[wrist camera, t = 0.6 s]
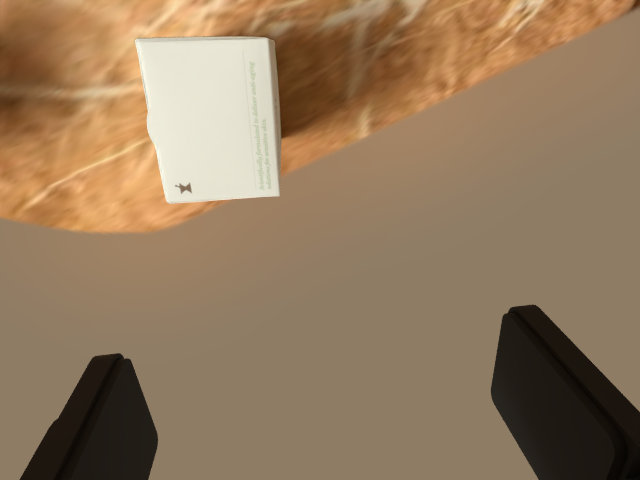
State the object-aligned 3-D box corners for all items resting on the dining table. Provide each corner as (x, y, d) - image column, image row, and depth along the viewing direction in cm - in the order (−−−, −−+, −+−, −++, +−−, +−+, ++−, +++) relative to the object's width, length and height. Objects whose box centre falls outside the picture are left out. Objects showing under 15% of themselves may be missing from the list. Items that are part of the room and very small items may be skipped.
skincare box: (281, 140, 37) (285, 204, 23) (205, 143, 36) (162, 211, 22) (275, 34, 33) (275, 35, 19) (190, 36, 32) (127, 38, 19)
